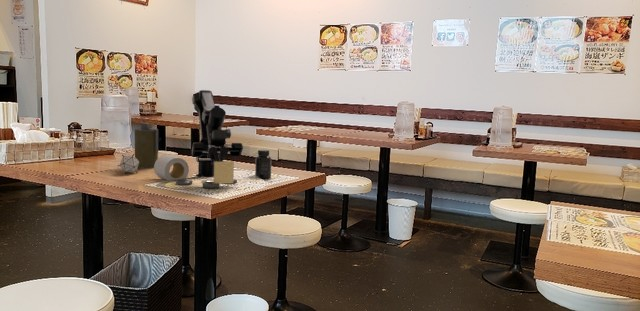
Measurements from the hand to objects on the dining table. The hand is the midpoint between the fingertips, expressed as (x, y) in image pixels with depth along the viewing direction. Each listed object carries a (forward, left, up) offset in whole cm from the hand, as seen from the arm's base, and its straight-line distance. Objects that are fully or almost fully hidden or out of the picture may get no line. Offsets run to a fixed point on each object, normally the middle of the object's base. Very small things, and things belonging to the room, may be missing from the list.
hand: (220, 167), depth 183 cm
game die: (-49, +6, -8) cm, 50 cm away
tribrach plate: (-6, 0, -8) cm, 10 cm away
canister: (-55, +23, -8) cm, 61 cm away
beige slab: (+2, -4, -7) cm, 8 cm away
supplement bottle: (+2, +30, -8) cm, 31 cm away
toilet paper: (-24, +2, -8) cm, 26 cm away
